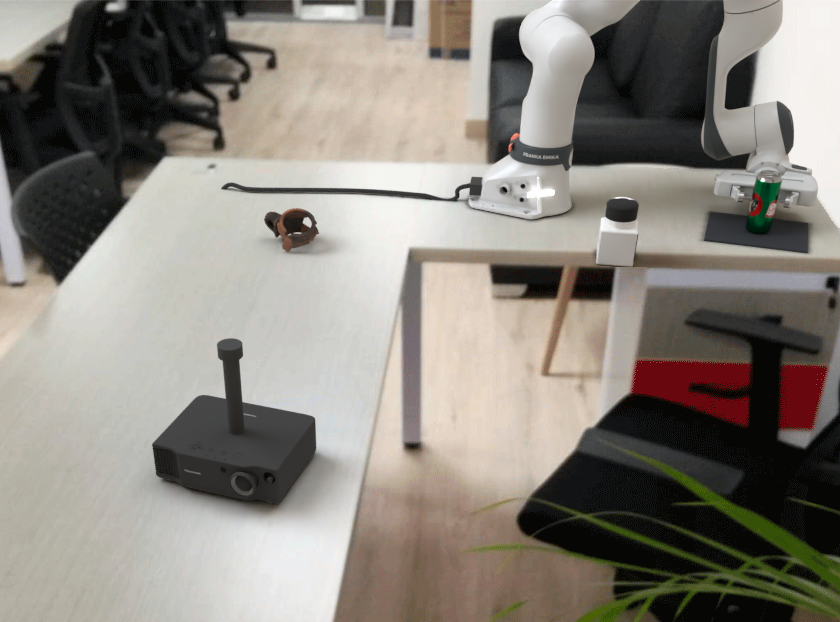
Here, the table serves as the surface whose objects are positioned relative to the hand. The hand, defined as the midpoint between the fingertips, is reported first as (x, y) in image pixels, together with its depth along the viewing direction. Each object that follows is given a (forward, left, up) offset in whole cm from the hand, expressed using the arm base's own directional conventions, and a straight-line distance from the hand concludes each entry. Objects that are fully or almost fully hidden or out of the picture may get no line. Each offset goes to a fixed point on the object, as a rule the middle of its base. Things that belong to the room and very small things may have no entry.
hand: (763, 201), depth 219 cm
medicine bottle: (-26, -22, -7) cm, 35 cm away
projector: (-67, -114, -7) cm, 133 cm away
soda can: (0, +1, -7) cm, 7 cm away
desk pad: (0, +1, -7) cm, 7 cm away
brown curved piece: (-90, -35, -7) cm, 97 cm away
